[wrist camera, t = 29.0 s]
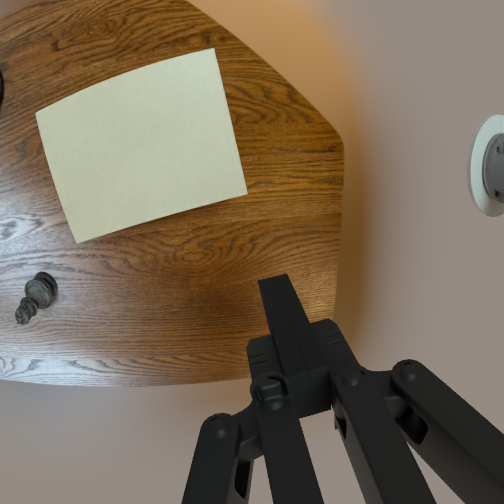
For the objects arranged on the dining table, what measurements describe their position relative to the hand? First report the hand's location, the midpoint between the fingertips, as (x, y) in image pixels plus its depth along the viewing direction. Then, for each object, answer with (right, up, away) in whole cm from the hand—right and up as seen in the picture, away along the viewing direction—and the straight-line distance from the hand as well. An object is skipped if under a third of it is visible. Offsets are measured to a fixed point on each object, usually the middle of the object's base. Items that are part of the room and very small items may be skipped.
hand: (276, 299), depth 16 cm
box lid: (-12, +13, +11) cm, 21 cm away
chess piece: (-39, -3, +31) cm, 49 cm away
